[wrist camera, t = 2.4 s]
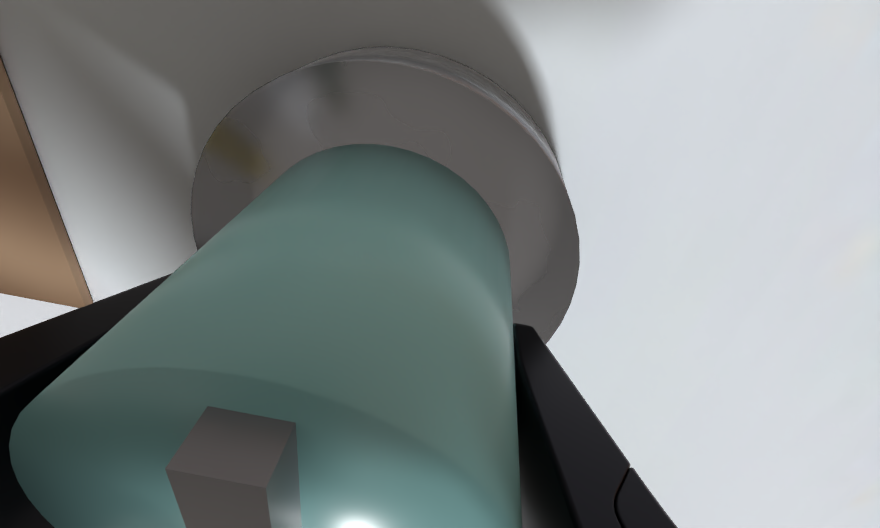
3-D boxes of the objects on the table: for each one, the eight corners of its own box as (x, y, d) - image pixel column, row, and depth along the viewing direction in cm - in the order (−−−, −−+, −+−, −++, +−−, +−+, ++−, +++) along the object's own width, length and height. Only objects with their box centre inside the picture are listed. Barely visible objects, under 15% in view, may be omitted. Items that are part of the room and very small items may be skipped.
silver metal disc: (518, 372, 14) (521, 424, 13) (251, 322, 14) (219, 367, 13) (621, 86, 9) (648, 109, 8) (213, 13, 10) (151, 20, 8)
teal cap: (481, 379, 12) (468, 723, 6) (265, 339, 12) (67, 645, 6) (541, 173, 9) (621, 519, 3) (242, 118, 9) (-204, 361, 3)
